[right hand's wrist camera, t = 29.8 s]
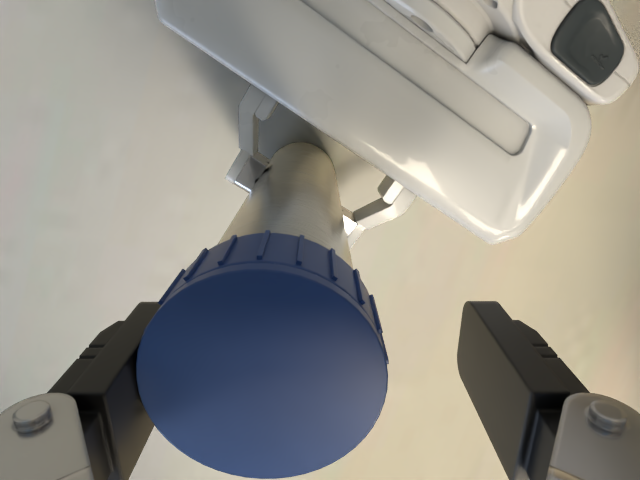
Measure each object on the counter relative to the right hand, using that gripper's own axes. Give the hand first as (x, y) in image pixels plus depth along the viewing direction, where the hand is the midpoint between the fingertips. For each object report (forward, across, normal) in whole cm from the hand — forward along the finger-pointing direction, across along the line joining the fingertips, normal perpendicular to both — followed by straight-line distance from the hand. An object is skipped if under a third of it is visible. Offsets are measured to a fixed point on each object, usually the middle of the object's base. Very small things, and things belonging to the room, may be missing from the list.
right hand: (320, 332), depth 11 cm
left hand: (+12, -2, 0) cm, 12 cm away
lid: (-2, -1, 0) cm, 3 cm away
